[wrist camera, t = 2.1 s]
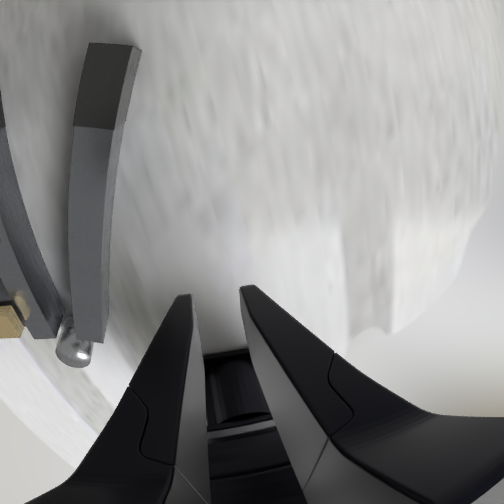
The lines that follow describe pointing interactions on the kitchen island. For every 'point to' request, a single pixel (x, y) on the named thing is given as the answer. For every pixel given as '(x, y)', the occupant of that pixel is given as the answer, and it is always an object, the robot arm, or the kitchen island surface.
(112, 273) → the kitchen island surface
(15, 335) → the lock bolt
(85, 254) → the tong arm
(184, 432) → the robot arm
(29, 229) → the tong base
